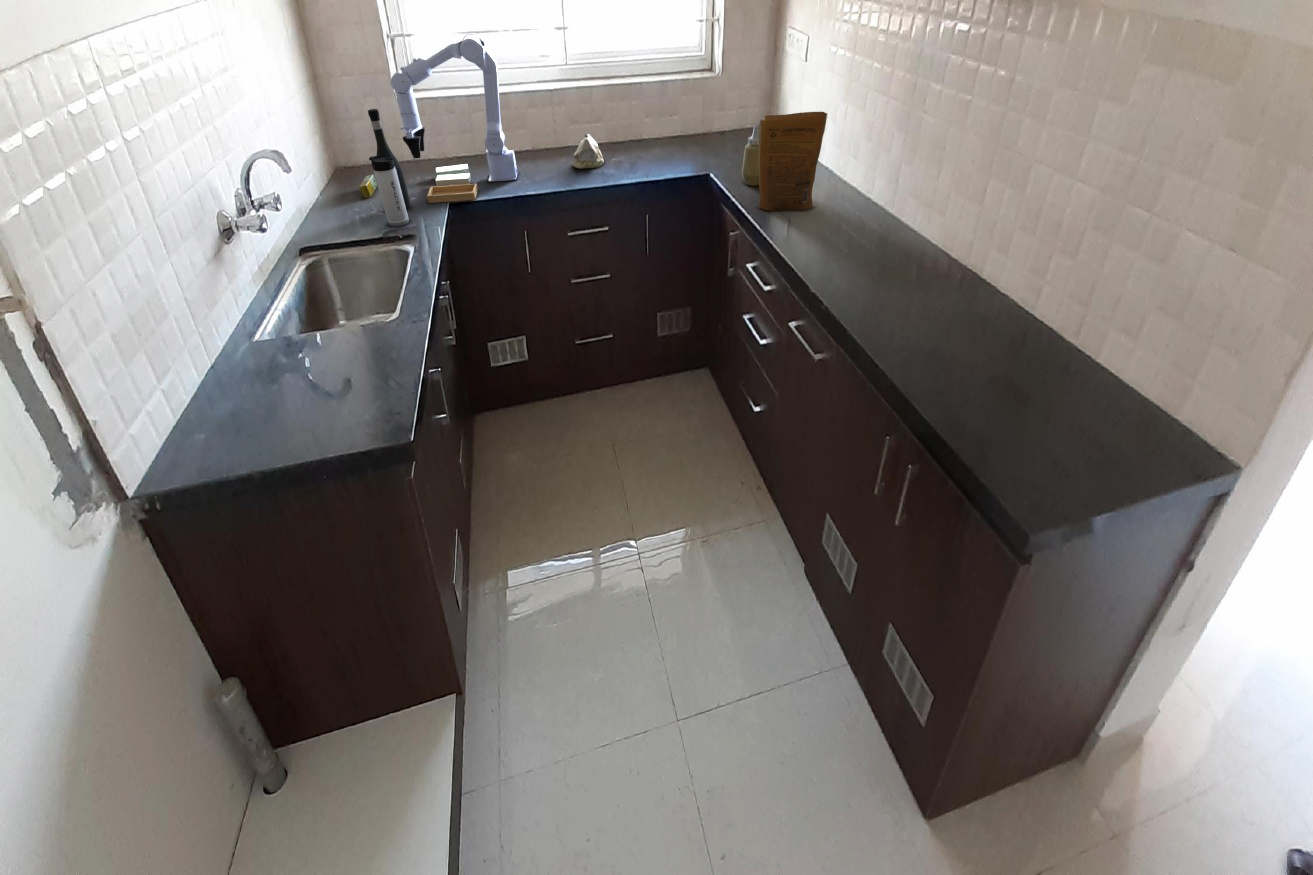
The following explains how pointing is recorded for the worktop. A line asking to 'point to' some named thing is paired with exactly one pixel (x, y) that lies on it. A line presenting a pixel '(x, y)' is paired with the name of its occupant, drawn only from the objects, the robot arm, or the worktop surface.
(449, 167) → the sage green thick block
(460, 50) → the robot arm
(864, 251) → the worktop surface
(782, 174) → the pancake mix bag
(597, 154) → the ceramic model
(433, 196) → the tray
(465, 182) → the off-white rectangular slab
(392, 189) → the travel mug
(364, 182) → the medication box
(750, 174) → the squeeze bottle
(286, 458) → the worktop surface
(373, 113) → the wine bottle
